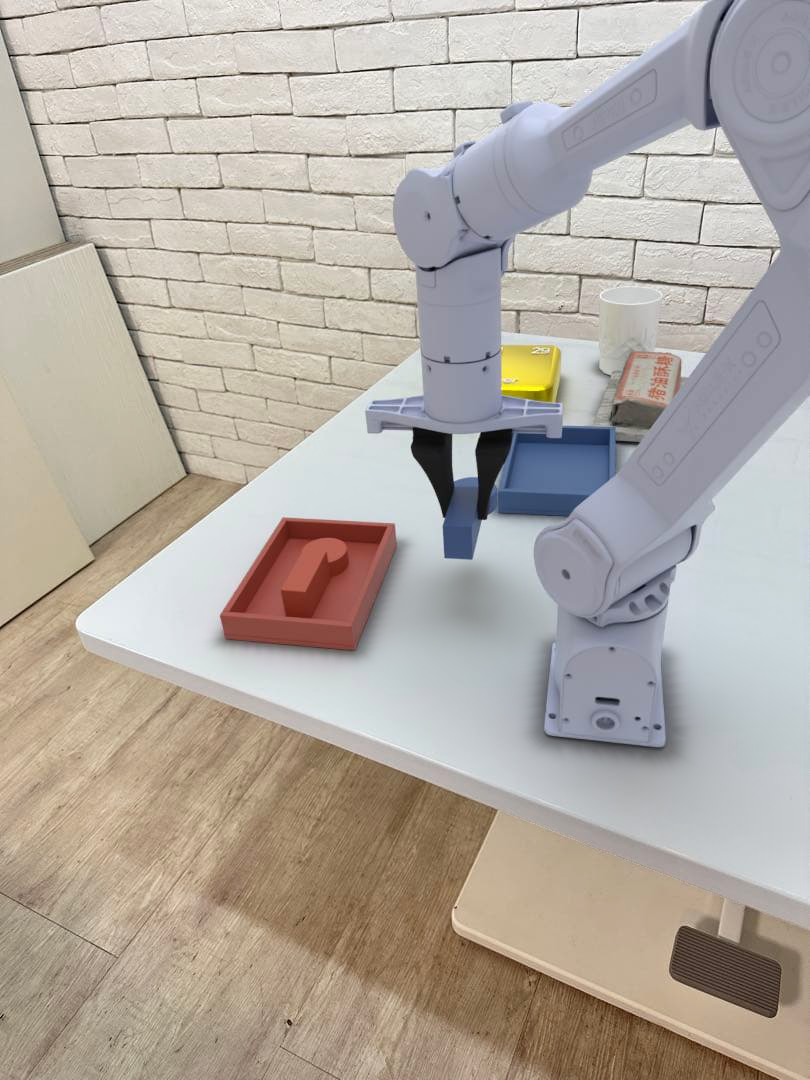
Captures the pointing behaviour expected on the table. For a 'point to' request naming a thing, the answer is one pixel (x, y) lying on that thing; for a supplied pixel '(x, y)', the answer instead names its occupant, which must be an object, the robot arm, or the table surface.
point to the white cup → (627, 324)
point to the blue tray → (556, 470)
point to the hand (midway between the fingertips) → (466, 512)
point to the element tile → (531, 371)
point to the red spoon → (313, 575)
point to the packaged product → (639, 394)
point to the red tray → (343, 601)
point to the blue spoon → (464, 519)
